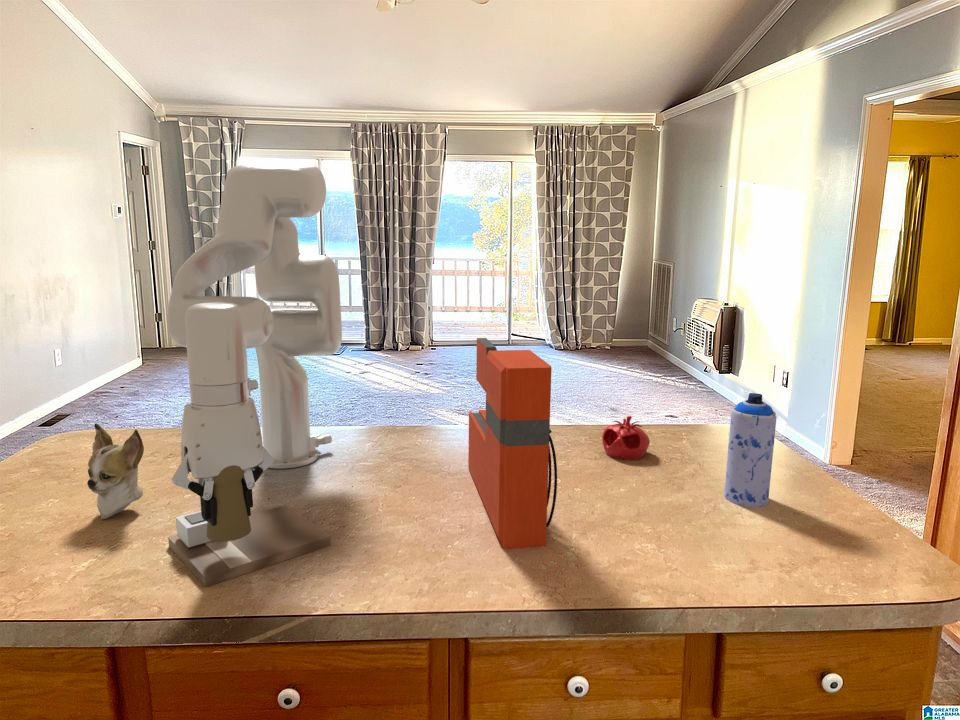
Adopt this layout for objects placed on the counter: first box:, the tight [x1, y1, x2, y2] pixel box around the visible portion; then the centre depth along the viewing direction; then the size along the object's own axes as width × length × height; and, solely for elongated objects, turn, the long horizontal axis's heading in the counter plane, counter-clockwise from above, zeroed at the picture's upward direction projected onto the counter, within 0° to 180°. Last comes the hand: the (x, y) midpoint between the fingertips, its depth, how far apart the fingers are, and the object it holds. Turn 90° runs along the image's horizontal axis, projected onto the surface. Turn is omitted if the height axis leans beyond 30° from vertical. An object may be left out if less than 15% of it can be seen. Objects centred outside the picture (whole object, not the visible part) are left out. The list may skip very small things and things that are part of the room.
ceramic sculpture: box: [87, 422, 145, 520], centre depth 111 cm, size 11×9×15 cm
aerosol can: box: [723, 392, 777, 508], centre depth 119 cm, size 8×8×20 cm
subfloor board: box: [167, 504, 332, 588], centre depth 102 cm, size 19×16×2 cm
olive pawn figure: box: [207, 465, 251, 542], centre depth 94 cm, size 6×6×11 cm
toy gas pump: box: [467, 337, 558, 550], centre depth 116 cm, size 9×35×28 cm, turn 10°
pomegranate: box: [601, 415, 650, 460], centre depth 143 cm, size 10×10×9 cm
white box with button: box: [175, 510, 212, 548], centre depth 101 cm, size 6×5×3 cm
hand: (228, 516), depth 95 cm, fingers closed on olive pawn figure, 4 cm apart
